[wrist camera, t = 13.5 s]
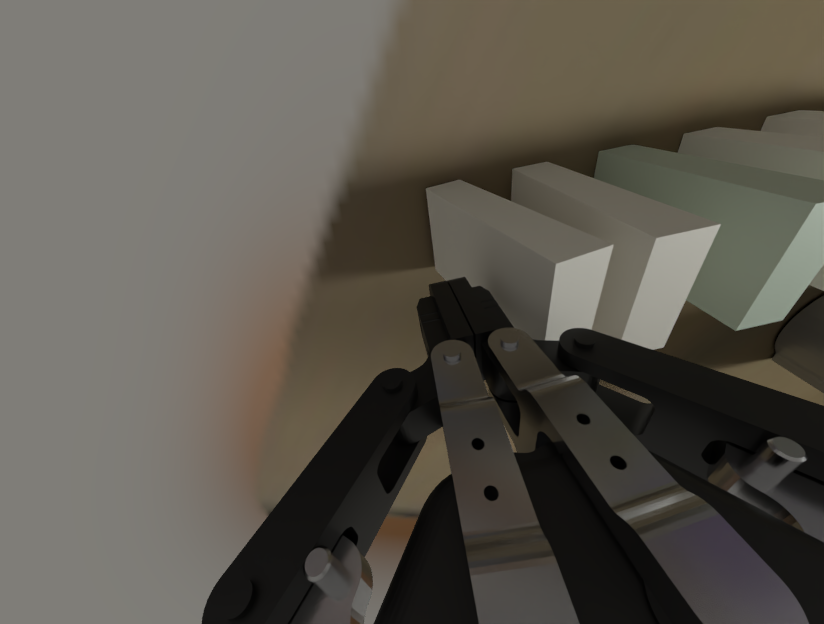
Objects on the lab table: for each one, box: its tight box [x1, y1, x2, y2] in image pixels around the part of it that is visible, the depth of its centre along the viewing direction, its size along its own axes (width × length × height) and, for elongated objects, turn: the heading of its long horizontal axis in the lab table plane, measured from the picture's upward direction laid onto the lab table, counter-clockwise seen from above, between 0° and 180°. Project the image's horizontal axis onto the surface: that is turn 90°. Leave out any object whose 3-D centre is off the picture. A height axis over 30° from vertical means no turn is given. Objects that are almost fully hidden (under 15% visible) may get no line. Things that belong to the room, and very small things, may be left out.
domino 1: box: [426, 180, 614, 341], centre depth 14 cm, size 2×5×10 cm, turn 8°
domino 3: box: [594, 144, 824, 331], centre depth 15 cm, size 2×5×10 cm, turn 9°
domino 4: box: [678, 127, 824, 291], centre depth 15 cm, size 2×5×10 cm, turn 9°
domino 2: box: [511, 162, 721, 350], centre depth 14 cm, size 2×5×10 cm, turn 9°
